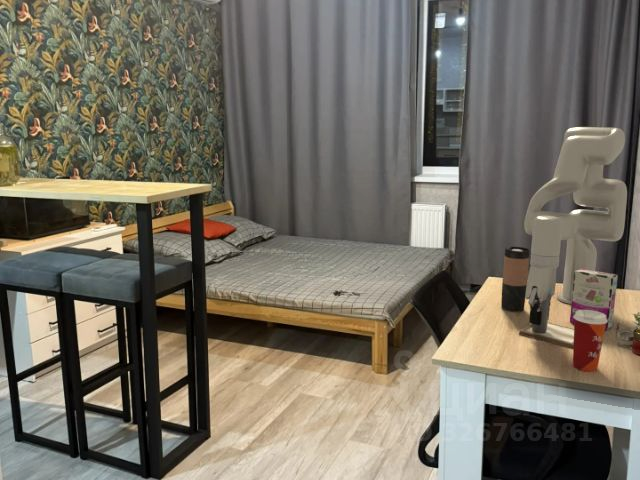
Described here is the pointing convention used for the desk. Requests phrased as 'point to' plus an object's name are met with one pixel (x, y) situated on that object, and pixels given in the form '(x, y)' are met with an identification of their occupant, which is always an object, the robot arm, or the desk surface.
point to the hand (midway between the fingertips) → (538, 321)
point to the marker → (543, 315)
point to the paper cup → (588, 339)
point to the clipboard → (552, 334)
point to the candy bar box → (594, 293)
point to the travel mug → (515, 278)
